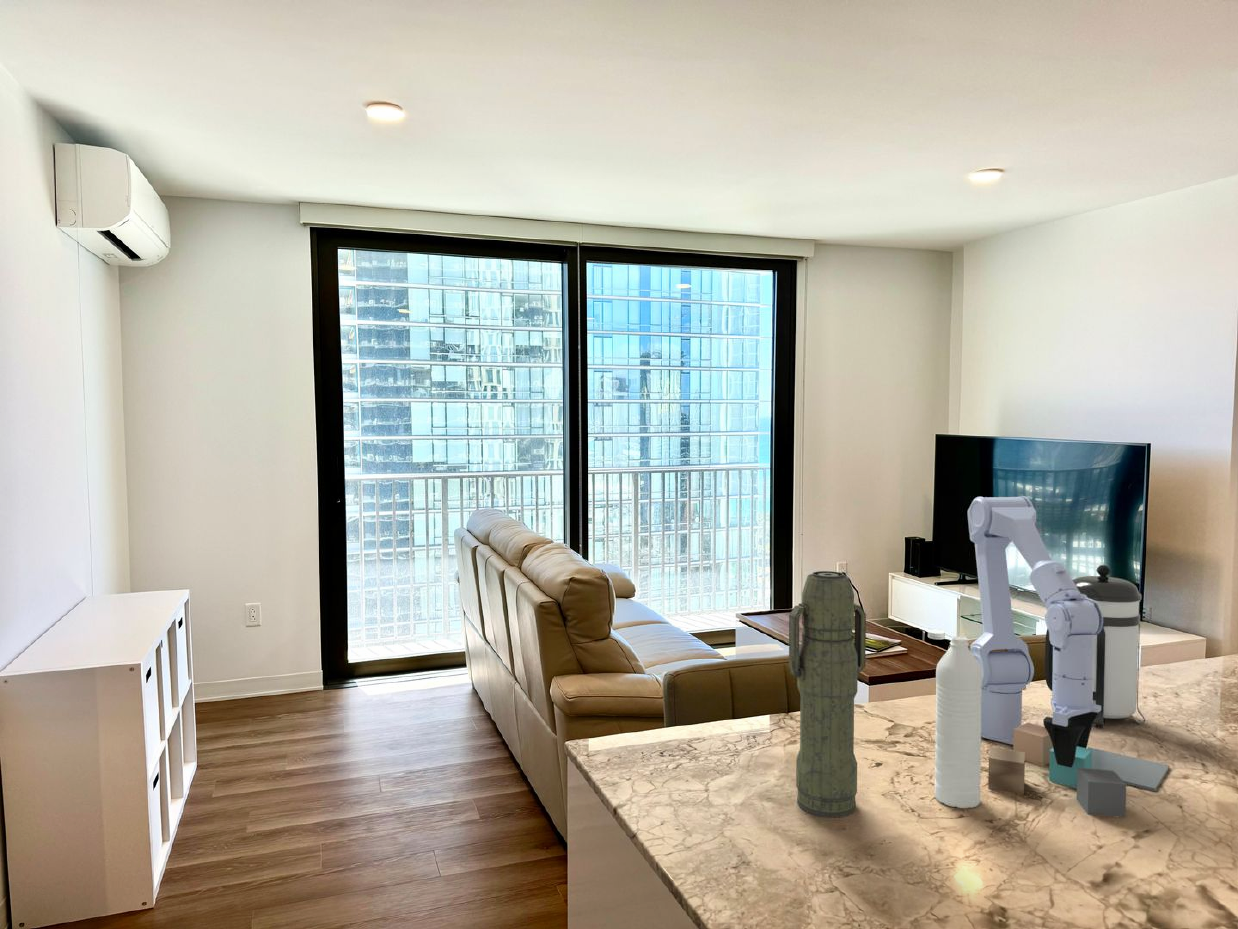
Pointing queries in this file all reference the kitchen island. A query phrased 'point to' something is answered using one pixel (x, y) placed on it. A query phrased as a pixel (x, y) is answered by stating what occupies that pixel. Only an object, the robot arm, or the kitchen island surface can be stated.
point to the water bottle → (957, 725)
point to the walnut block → (1006, 770)
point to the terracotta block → (1033, 743)
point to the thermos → (827, 692)
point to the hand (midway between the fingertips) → (1071, 758)
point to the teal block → (1066, 773)
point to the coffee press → (1111, 645)
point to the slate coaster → (1130, 768)
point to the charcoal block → (1101, 792)
